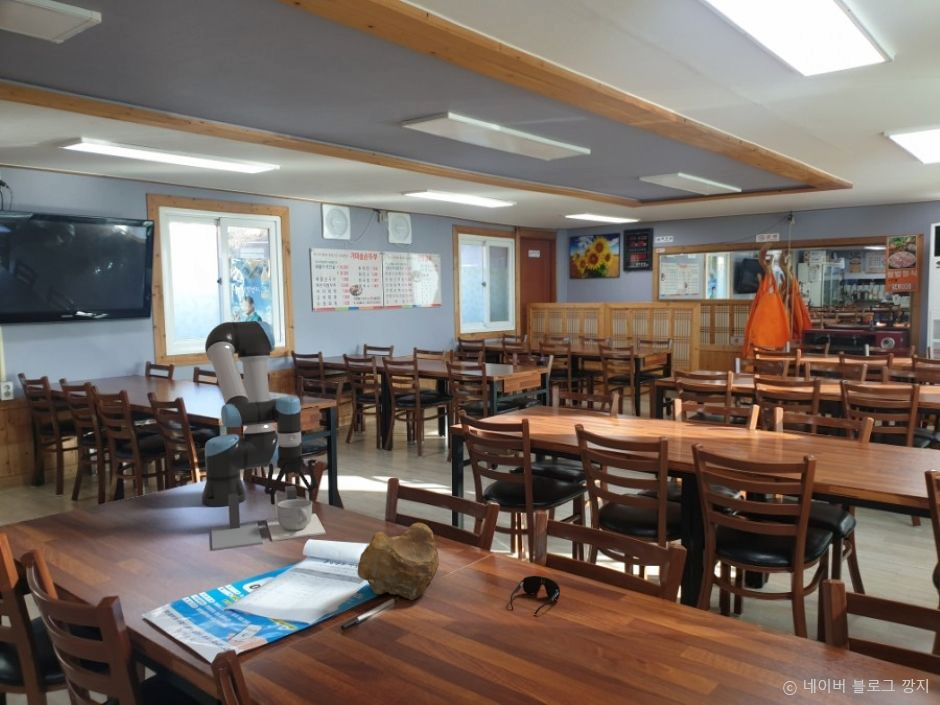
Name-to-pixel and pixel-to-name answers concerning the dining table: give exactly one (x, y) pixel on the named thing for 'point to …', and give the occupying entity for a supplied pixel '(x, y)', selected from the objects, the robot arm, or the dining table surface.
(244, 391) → the robot arm
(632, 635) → the dining table surface
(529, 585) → the sunglasses
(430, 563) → the rough brown rock
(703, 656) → the dining table surface
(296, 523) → the teacup
